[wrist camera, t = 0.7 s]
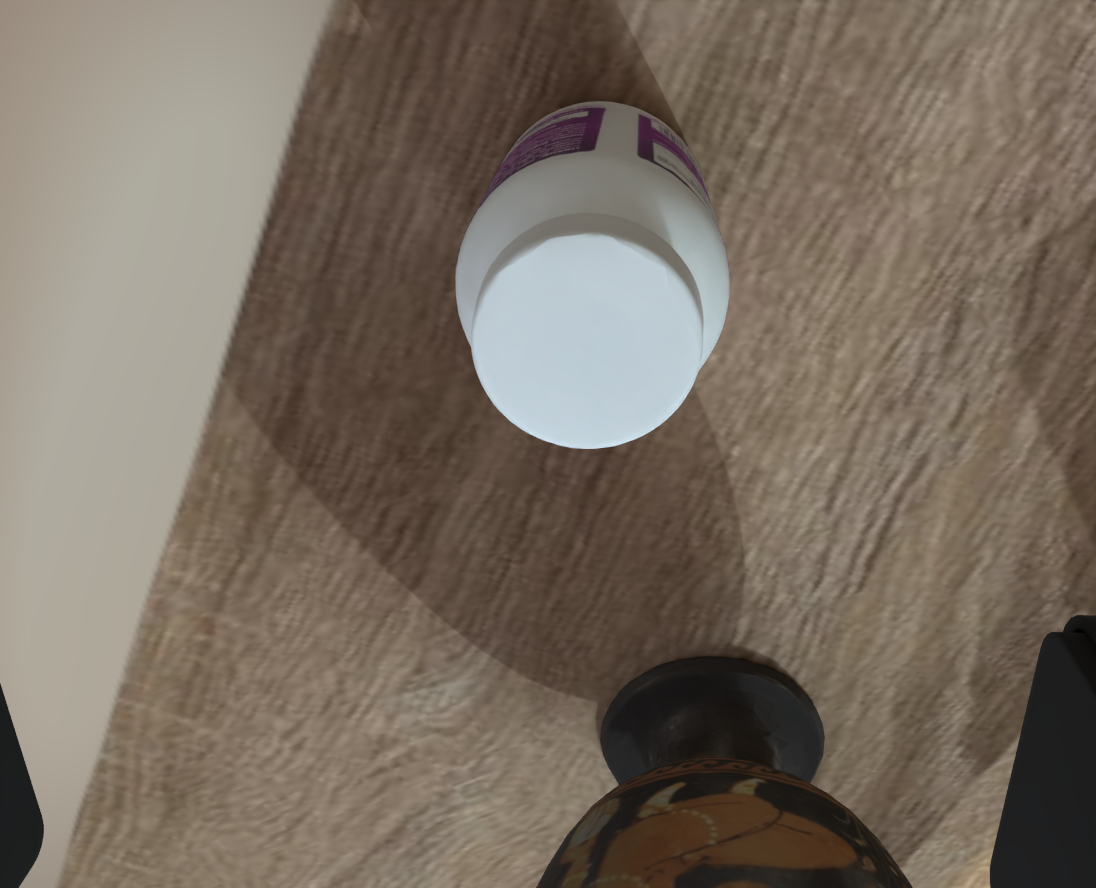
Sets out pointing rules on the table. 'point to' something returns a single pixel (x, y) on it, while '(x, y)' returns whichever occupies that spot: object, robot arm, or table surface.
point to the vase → (717, 791)
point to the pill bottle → (593, 277)
